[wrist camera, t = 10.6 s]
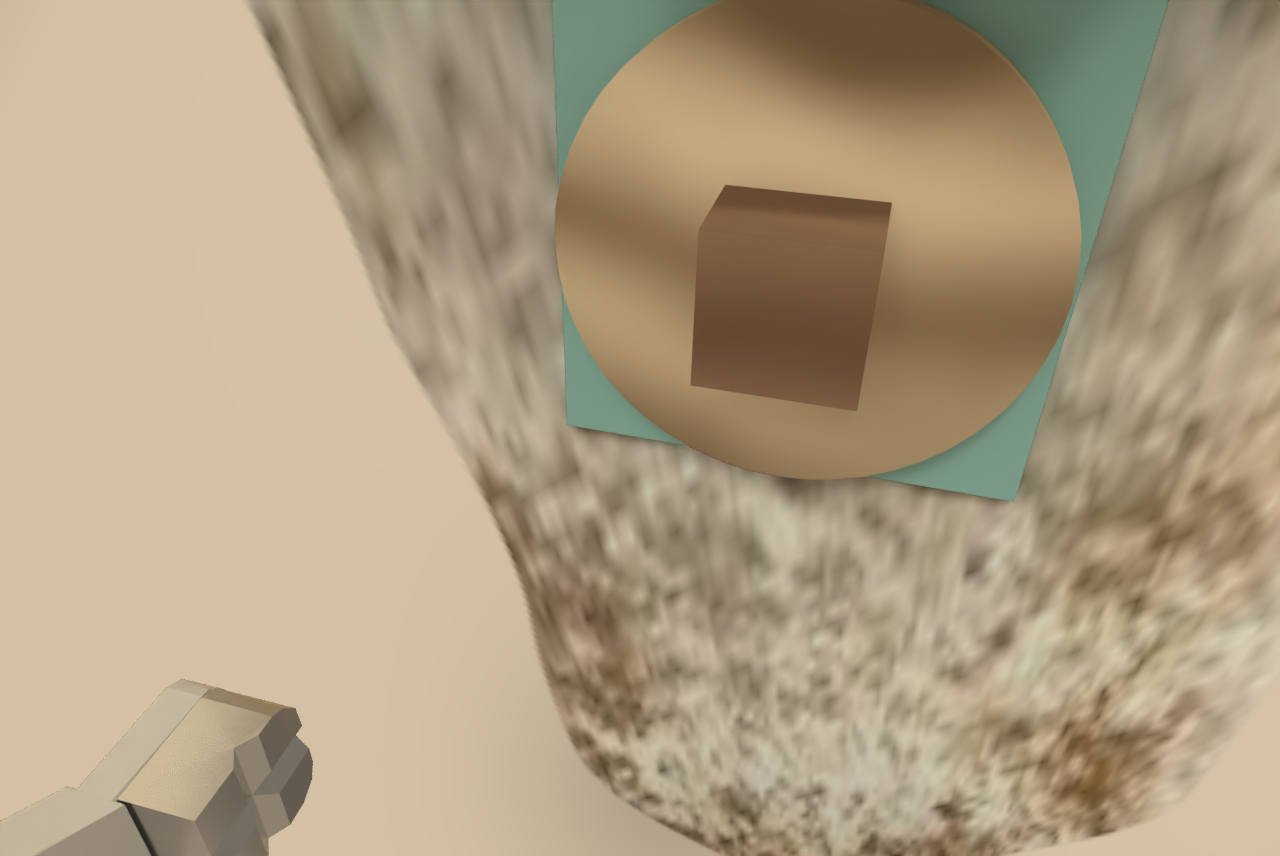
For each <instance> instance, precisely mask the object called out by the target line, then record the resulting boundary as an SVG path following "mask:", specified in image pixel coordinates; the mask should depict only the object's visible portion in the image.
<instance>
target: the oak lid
mask: <svg viewBox="0 0 1280 856" xmlns="http://www.w3.org/2000/svg"><path fill="white" fill-rule="evenodd" d="M1081 239H1082V235H1081V223H1080V211H1079V200H1078V196H1077V192H1076V188H1075V184H1074V180H1073V175H1072V171H1071V167H1070V164H1069V161H1068V158H1067V154H1066V151H1065V149H1064V146H1063V144H1062V141H1061V139H1060V137H1059V134H1058V132H1057V129H1056V127H1055V124H1054V122H1053V120H1052V117H1051V115H1050V114H1049V112H1048V111H1047V109H1046V107H1045V106H1044V104H1043V102H1042V101H1041V99H1040V97H1039V96H1038V94H1037V92H1036V91H1035V89H1034V88H1033V86H1032V85H1031V83H1030V82H1029V81H1028V80H1027V79H1026V77H1025V76H1024V75H1023V74H1022V73H1021V72H1020V70H1019V69H1018V68H1017V67H1016V66H1015V64H1014V63H1013V62H1012V61H1011V60H1010V59H1009V57H1008V56H1006V55H1005V54H1004V53H1003V52H1002V51H1001V50H1000V49H998V48H997V47H996V46H995V45H994V44H993V43H992V42H990V41H989V40H988V39H987V38H986V37H985V36H984V35H982V34H981V33H980V32H979V31H977V30H976V29H974V28H972V27H971V26H969V25H968V24H966V23H965V22H963V21H961V20H960V19H958V18H957V17H955V16H954V15H952V14H951V13H949V12H947V11H945V10H943V9H941V8H938V7H936V6H934V5H932V4H929V3H927V2H925V1H923V0H719V1H717V2H715V3H713V4H711V5H709V6H706V7H704V8H702V9H700V10H698V11H696V12H694V13H692V14H690V15H689V16H687V17H686V18H684V19H683V20H681V21H680V22H678V23H676V24H675V25H673V26H672V27H670V28H669V29H667V30H666V31H664V32H663V33H662V34H660V35H659V36H658V37H656V38H655V39H654V40H653V41H651V42H650V43H649V44H648V45H647V46H646V47H645V48H643V49H642V50H641V51H640V52H639V53H638V54H637V55H635V56H634V57H633V58H632V59H631V60H630V61H628V62H627V63H626V64H625V65H624V66H623V67H622V68H621V69H620V71H619V72H618V73H617V74H616V75H615V76H614V78H613V79H612V80H611V81H610V82H609V83H608V84H607V86H606V87H605V88H604V89H603V90H602V91H601V93H600V94H599V96H598V98H597V99H596V101H595V102H594V104H593V105H592V107H591V108H590V110H589V112H588V113H587V115H586V116H585V118H584V119H583V121H582V124H581V126H580V128H579V130H578V132H577V134H576V137H575V139H574V141H573V143H572V145H571V147H570V150H569V153H568V156H567V160H566V163H565V166H564V170H563V173H562V176H561V180H560V186H559V192H558V198H557V205H556V217H555V245H556V255H557V264H558V271H559V276H560V280H561V284H562V288H563V292H564V297H565V300H566V303H567V305H568V308H569V311H570V313H571V316H572V319H573V321H574V324H575V326H576V328H577V330H578V332H579V334H580V336H581V338H582V340H583V342H584V344H585V346H586V348H587V350H588V351H589V353H590V354H591V356H592V357H593V359H594V360H595V362H596V363H597V365H598V366H599V368H600V369H601V371H602V372H603V374H604V375H605V376H606V377H607V378H608V380H609V381H610V382H611V383H612V384H613V385H614V387H615V388H616V389H617V390H618V391H619V392H620V394H621V395H622V396H623V397H624V398H625V399H626V400H627V401H628V402H629V403H630V404H632V405H633V406H634V407H635V408H636V409H637V410H638V411H639V412H640V413H641V414H642V415H643V416H645V417H646V418H647V419H649V420H650V421H651V422H653V423H654V424H655V425H657V426H658V427H659V428H661V429H662V430H663V431H664V432H666V433H667V434H669V435H671V436H672V437H674V438H676V439H677V440H679V441H681V442H682V443H684V444H686V445H687V446H689V447H691V448H693V449H695V450H697V451H699V452H702V453H704V454H706V455H708V456H710V457H712V458H715V459H717V460H719V461H722V462H725V463H728V464H731V465H734V466H737V467H740V468H743V469H746V470H751V471H755V472H759V473H764V474H768V475H773V476H780V477H788V478H796V479H817V480H835V479H846V478H857V477H865V476H870V475H875V474H880V473H885V472H890V471H894V470H897V469H900V468H903V467H906V466H909V465H913V464H916V463H919V462H922V461H924V460H926V459H928V458H931V457H933V456H935V455H937V454H940V453H942V452H944V451H946V450H948V449H950V448H952V447H954V446H955V445H957V444H959V443H960V442H962V441H964V440H965V439H967V438H969V437H970V436H972V435H974V434H975V433H977V432H978V431H979V430H981V429H982V428H983V427H984V426H986V425H987V424H988V423H990V422H991V421H992V420H993V419H995V418H996V417H997V416H999V415H1000V414H1001V413H1002V412H1003V411H1004V410H1005V409H1006V408H1007V407H1008V406H1009V405H1010V404H1011V403H1012V402H1013V401H1014V400H1015V399H1016V398H1017V397H1018V396H1019V395H1020V394H1021V393H1022V392H1023V391H1024V390H1025V388H1026V387H1027V386H1028V384H1029V383H1030V382H1031V380H1032V379H1033V378H1034V376H1035V375H1036V374H1037V373H1038V371H1039V370H1040V369H1041V367H1042V366H1043V365H1044V363H1045V361H1046V359H1047V357H1048V356H1049V354H1050V352H1051V350H1052V349H1053V347H1054V345H1055V343H1056V341H1057V340H1058V338H1059V336H1060V334H1061V331H1062V328H1063V326H1064V323H1065V321H1066V318H1067V315H1068V313H1069V310H1070V308H1071V305H1072V301H1073V297H1074V292H1075V288H1076V283H1077V279H1078V274H1079V267H1080V253H1081Z"/></svg>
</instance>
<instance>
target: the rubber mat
mask: <svg viewBox="0 0 1280 856" xmlns="http://www.w3.org/2000/svg"><path fill="white" fill-rule="evenodd" d="M717 1H719V0H552V15H553V44H554V72H555V100H556V128H557V156H558V184H559V186H560V180H561V176H562V173H563V170H564V166H565V163H566V160H567V156H568V153H569V150H570V147H571V145H572V143H573V141H574V139H575V137H576V134H577V132H578V130H579V128H580V126H581V124H582V121H583V119H584V118H585V116H586V115H587V113H588V112H589V110H590V108H591V107H592V105H593V104H594V102H595V101H596V99H597V98H598V96H599V94H600V93H601V91H602V90H603V89H604V88H605V87H606V86H607V84H608V83H609V82H610V81H611V80H612V79H613V78H614V76H615V75H616V74H617V73H618V72H619V71H620V69H621V68H622V67H623V66H624V65H625V64H626V63H627V62H628V61H630V60H631V59H632V58H633V57H634V56H635V55H637V54H638V53H639V52H640V51H641V50H642V49H643V48H645V47H646V46H647V45H648V44H649V43H650V42H651V41H653V40H654V39H655V38H656V37H658V36H659V35H660V34H662V33H663V32H664V31H666V30H667V29H669V28H670V27H672V26H673V25H675V24H676V23H678V22H680V21H681V20H683V19H684V18H686V17H687V16H689V15H690V14H692V13H694V12H696V11H698V10H700V9H702V8H704V7H706V6H709V5H711V4H713V3H715V2H717ZM923 1H925V2H927V3H929V4H932V5H934V6H936V7H938V8H941V9H943V10H945V11H947V12H949V13H951V14H952V15H954V16H955V17H957V18H958V19H960V20H961V21H963V22H965V23H966V24H968V25H969V26H971V27H972V28H974V29H976V30H977V31H979V32H980V33H981V34H982V35H984V36H985V37H986V38H987V39H988V40H989V41H990V42H992V43H993V44H994V45H995V46H996V47H997V48H998V49H1000V50H1001V51H1002V52H1003V53H1004V54H1005V55H1006V56H1008V57H1009V59H1010V60H1011V61H1012V62H1013V63H1014V64H1015V66H1016V67H1017V68H1018V69H1019V70H1020V72H1021V73H1022V74H1023V75H1024V76H1025V77H1026V79H1027V80H1028V81H1029V82H1030V83H1031V85H1032V86H1033V88H1034V89H1035V91H1036V92H1037V94H1038V96H1039V97H1040V99H1041V101H1042V102H1043V104H1044V106H1045V107H1046V109H1047V111H1048V112H1049V114H1050V115H1051V117H1052V120H1053V122H1054V124H1055V127H1056V129H1057V132H1058V134H1059V137H1060V139H1061V141H1062V144H1063V146H1064V149H1065V151H1066V154H1067V158H1068V161H1069V164H1070V167H1071V171H1072V175H1073V180H1074V184H1075V188H1076V192H1077V196H1078V200H1079V211H1080V223H1081V235H1082V239H1081V253H1080V267H1079V274H1078V279H1077V283H1076V288H1075V292H1074V297H1073V301H1072V305H1071V308H1070V310H1069V313H1068V315H1067V318H1066V321H1065V323H1064V326H1063V328H1062V331H1061V334H1060V336H1059V338H1058V340H1057V341H1056V343H1055V345H1054V347H1053V349H1052V350H1051V352H1050V354H1049V356H1048V357H1047V359H1046V361H1045V363H1044V365H1043V366H1042V367H1041V369H1040V370H1039V371H1038V373H1037V374H1036V375H1035V376H1034V378H1033V379H1032V380H1031V382H1030V383H1029V384H1028V386H1027V387H1026V388H1025V390H1024V391H1023V392H1022V393H1021V394H1020V395H1019V396H1018V397H1017V398H1016V399H1015V400H1014V401H1013V402H1012V403H1011V404H1010V405H1009V406H1008V407H1007V408H1006V409H1005V410H1004V411H1003V412H1002V413H1001V414H1000V415H999V416H997V417H996V418H995V419H993V420H992V421H991V422H990V423H988V424H987V425H986V426H984V427H983V428H982V429H981V430H979V431H978V432H977V433H975V434H974V435H972V436H970V437H969V438H967V439H965V440H964V441H962V442H960V443H959V444H957V445H955V446H954V447H952V448H950V449H948V450H946V451H944V452H942V453H940V454H937V455H935V456H933V457H931V458H928V459H926V460H924V461H922V462H919V463H916V464H913V465H909V466H906V467H903V468H900V469H897V470H894V471H890V472H885V473H880V474H875V475H870V476H867V477H873V478H879V479H884V480H890V481H896V482H902V483H908V484H914V485H919V486H925V487H931V488H937V489H943V490H949V491H954V492H960V493H966V494H972V495H978V496H984V497H989V498H995V499H1001V500H1007V501H1013V502H1014V500H1015V497H1016V494H1017V491H1018V487H1019V484H1020V481H1021V478H1022V474H1023V471H1024V468H1025V465H1026V461H1027V458H1028V455H1029V452H1030V448H1031V445H1032V442H1033V439H1034V435H1035V432H1036V429H1037V426H1038V422H1039V419H1040V416H1041V413H1042V409H1043V406H1044V403H1045V400H1046V397H1047V393H1048V390H1049V387H1050V384H1051V380H1052V377H1053V374H1054V371H1055V367H1056V364H1057V361H1058V358H1059V354H1060V351H1061V348H1062V345H1063V341H1064V338H1065V335H1066V332H1067V328H1068V325H1069V322H1070V319H1071V315H1072V312H1073V309H1074V306H1075V302H1076V299H1077V296H1078V293H1079V289H1080V286H1081V283H1082V280H1083V277H1084V273H1085V270H1086V267H1087V264H1088V260H1089V257H1090V254H1091V251H1092V247H1093V244H1094V241H1095V238H1096V234H1097V231H1098V228H1099V225H1100V221H1101V218H1102V215H1103V212H1104V208H1105V205H1106V202H1107V199H1108V195H1109V192H1110V189H1111V186H1112V182H1113V179H1114V176H1115V173H1116V169H1117V166H1118V163H1119V160H1120V157H1121V153H1122V150H1123V147H1124V144H1125V140H1126V137H1127V134H1128V131H1129V127H1130V124H1131V121H1132V118H1133V114H1134V111H1135V108H1136V105H1137V101H1138V98H1139V95H1140V92H1141V88H1142V85H1143V82H1144V79H1145V75H1146V72H1147V69H1148V66H1149V62H1150V59H1151V56H1152V53H1153V49H1154V46H1155V43H1156V40H1157V37H1158V33H1159V30H1160V27H1161V24H1162V20H1163V17H1164V14H1165V11H1166V7H1167V4H1168V1H1169V0H923ZM562 297H563V325H564V353H565V381H566V409H567V425H570V426H576V427H581V428H587V429H593V430H599V431H605V432H611V433H616V434H622V435H628V436H634V437H640V438H646V439H651V440H657V441H663V442H669V443H675V444H681V445H686V444H684V443H682V442H681V441H679V440H677V439H676V438H674V437H672V436H671V435H669V434H667V433H666V432H664V431H663V430H662V429H661V428H659V427H658V426H657V425H655V424H654V423H653V422H651V421H650V420H649V419H647V418H646V417H645V416H643V415H642V414H641V413H640V412H639V411H638V410H637V409H636V408H635V407H634V406H633V405H632V404H630V403H629V402H628V401H627V400H626V399H625V398H624V397H623V396H622V395H621V394H620V392H619V391H618V390H617V389H616V388H615V387H614V385H613V384H612V383H611V382H610V381H609V380H608V378H607V377H606V376H605V375H604V374H603V372H602V371H601V369H600V368H599V366H598V365H597V363H596V362H595V360H594V359H593V357H592V356H591V354H590V353H589V351H588V350H587V348H586V346H585V344H584V342H583V340H582V338H581V336H580V334H579V332H578V330H577V328H576V326H575V324H574V321H573V319H572V316H571V313H570V311H569V308H568V305H567V303H566V300H565V297H564V292H563V288H562ZM686 446H687V445H686Z"/></svg>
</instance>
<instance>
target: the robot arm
mask: <svg viewBox="0 0 1280 856" xmlns="http://www.w3.org/2000/svg"><path fill="white" fill-rule="evenodd" d="M301 726H302V725H301V722H300V719H299V717H298V714H297V712H296V709H295V708H292V707H288V706H284V705H280V704H276V703H273V702H268V701H265V700H261V699H256V698H253V697H249V696H245V695H241V694H237V693H233V692H229V691H226V690H224V689H221V688H217V687H213V686H209V685H205V684H200V683H196V682H192V681H189V680H184V679H180V680H179V681H177V682H176V683H174V684H172V685H170V686H169V687H167V688H166V689H165V690H164V691H163V692H162V693H161V694H160V695H159V696H158V698H157V699H156V700H155V701H154V702H153V703H152V705H151V706H150V707H149V708H148V709H147V710H146V711H145V712H144V713H143V715H142V716H141V717H140V718H139V719H138V720H137V722H136V723H135V724H134V725H133V726H132V727H131V728H130V730H129V731H128V732H127V733H126V734H125V735H124V736H123V737H122V739H121V740H120V741H119V742H118V743H117V744H116V745H115V746H114V748H113V749H112V750H111V751H110V752H109V753H108V754H107V755H106V757H105V758H104V759H103V760H102V761H101V762H100V763H99V765H98V766H97V767H96V768H95V769H94V770H93V771H92V772H91V774H90V775H89V776H88V777H87V778H86V779H85V781H84V782H83V783H82V784H81V785H80V786H79V787H78V788H77V789H74V788H70V787H65V788H63V789H61V790H59V791H57V792H55V793H53V794H51V795H49V796H47V797H45V798H44V799H42V800H40V801H38V802H36V803H34V804H32V805H30V806H28V807H26V808H24V809H22V810H20V811H19V812H17V813H15V814H13V815H11V816H9V817H7V818H5V819H3V820H1V821H0V856H269V852H268V838H269V837H271V836H272V835H274V834H276V833H277V832H279V831H280V830H282V829H284V828H285V827H287V826H289V825H290V824H291V823H292V821H293V819H294V818H295V816H296V814H297V813H298V811H299V810H300V808H301V806H302V805H303V803H304V800H305V797H306V794H307V792H308V789H309V786H310V783H311V780H312V766H313V761H312V757H311V754H310V750H309V748H308V747H307V746H306V745H305V744H304V743H303V742H302V741H301V740H300V739H299V738H298V737H297V736H296V734H297V732H298V731H299V729H300V728H301Z"/></svg>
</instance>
